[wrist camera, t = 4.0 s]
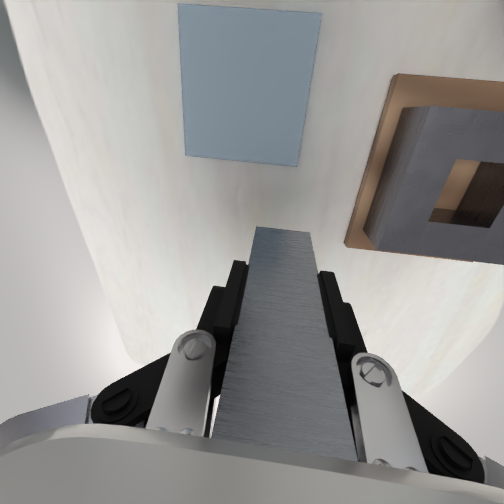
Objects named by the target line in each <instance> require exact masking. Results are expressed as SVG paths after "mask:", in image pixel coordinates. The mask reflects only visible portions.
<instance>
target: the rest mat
mask: <svg viewBox="0 0 504 504" xmlns="http://www.w3.org/2000/svg"><path fill="white" fill-rule="evenodd" d="M321 16H322V13H312V12H297V11H282V10H267V9H253V8H238V7H223V6H208V5H193V4H178V20H179V39H180V59H181V78H182V98H183V118H184V137H185V155H186V156H196V157H206V158H215V159H225V160H235V161H245V162H255V163H265V164H275V165H285V166H295V167H297V165H298V159H299V152H300V146H301V140H302V134H303V128H304V121H305V115H306V109H307V103H308V97H309V91H310V84H311V78H312V72H313V66H314V60H315V53H316V47H317V41H318V35H319V29H320V22H321Z"/></svg>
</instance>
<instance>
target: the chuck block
mask: <svg viewBox="0 0 504 504" xmlns="http://www.w3.org/2000/svg"><path fill="white" fill-rule="evenodd" d="M456 159H461V160H472V161H481V162H480V164H479V166H478V168H477V170H476V172H475V174H474V176H473V178H472V180H471V182H470V184H469V186H468V188H467V190H466V192H465V193H464V195H463V197H462V199H461V201H460V203H459V205H458V207H457V209H456V210H450V209H441V208H434V207H435V205H436V203H437V200H438V198H439V196H440V194H441V192H442V190H443V187H444V185H445V183H446V181H447V179H448V177H449V174H450V172H451V170H452V168H453V166H454V163H455V161H456ZM363 231H364V232H365V234H366V235H367V237H368V238H369V239H370V241H371V242H372V244H373V245H374V246H375V248H376V249H377V250H381V251H390V252H398V253H407V254H416V255H424V256H433V257H441V258H450V259H458V260H467V261H476V262H484V263H493V264H501V265H504V112H500V111H488V110H476V109H464V108H453V107H441V106H419V107H404V108H402V111H401V114H400V117H399V120H398V124H397V127H396V130H395V133H394V136H393V139H392V142H391V145H390V148H389V151H388V154H387V157H386V160H385V163H384V166H383V169H382V173H381V176H380V179H379V182H378V185H377V188H376V191H375V194H374V197H373V200H372V203H371V206H370V209H369V212H368V215H367V218H366V222H365V225H364V228H363Z"/></svg>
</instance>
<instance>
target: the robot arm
mask: <svg viewBox="0 0 504 504" xmlns="http://www.w3.org/2000/svg"><path fill="white" fill-rule="evenodd" d="M249 267H250V265H246V261H238V260H234V262H233V265H232V268H231V271H230V275H229V278H228V281H227V284H226V287H220V286H213V288H212V290H211V292H210V295H209V298H208V300H207V303H206V305H205V308H204V311H203V313H202V316H201V318H200V321H199V324H198V326H197V329H196V330H191V331H188V332H185V333H184V334H182V335H180V336H179V337H178V338H177V339H176V341H175V343H174V345H173V348H172V351H171V353H169V354H167V355H165V356H163V357H161V358H160V359H158V360H156V361H154V362H152V363H150V364H148V365H146V366H144V367H143V368H141V369H139V370H137V371H135V372H133V373H131V374H129V375H127V376H125V377H124V378H121V379H120V380H118V381H116V382H114V383H112V384H110V385H109V386H108V387H106V388H104V389H103V390H102V391H101V392H100V394H99V395H96V396H93V397H90V395H89V394H88V395H85V396H81V397H78V398H75V399H71V400H68V401H64V402H61V403H57V404H54V405H51V406H47V407H44V408H40V409H37V410H34V411H30V412H26V413H23V414H20V415H17V416H15V417H13V418H10V419H8V420H6V421H5V422H3V423H2V424H1V425H0V504H504V466H502V465H500V464H499V463H497V462H495V461H493V460H491V459H490V458H488V457H486V456H483V457H482V458H480V457H478V455H477V454H476V452H475V451H474V450H473V449H472V447H471V446H470V445H469V444H468V443H467V442H466V441H465V440H464V439H463V438H462V437H461V436H459V435H458V434H457V433H456V432H454V431H453V430H452V429H450V428H449V427H448V426H447V425H445V424H444V423H443V422H441V421H440V420H439V419H438V418H436V417H435V416H434V415H433V414H431V413H430V412H428V410H426V409H425V408H424V407H422V406H421V405H420V404H419V403H417V402H416V401H415V400H414V399H412V398H411V397H410V396H409V395H407V394H406V393H405V392H403V391H402V390H401V387H400V384H399V381H398V378H397V375H396V373H395V371H394V370H393V368H392V367H391V366H390V365H389V364H388V363H387V362H386V361H385V360H384V359H382V358H380V357H379V356H377V355H374V354H371V353H367V350H366V347H365V344H364V341H363V338H362V335H361V332H360V330H359V327H358V324H357V321H356V318H355V315H354V312H353V309H352V307H351V305H350V304H349V303H345V302H343V300H342V297H341V294H340V290H339V287H338V284H337V281H336V278H335V274H334V272H328V271H320V273H319V274H317V278H318V283H319V288H320V293H321V298H322V303H323V308H324V313H325V318H326V323H327V328H328V333H329V338H332V341H333V346H334V351H335V355H336V360H337V365H338V370H339V374H340V379H341V384H342V388H343V393H344V398H345V403H346V407H347V412H348V417H349V421H350V426H351V431H352V436H353V440H354V445H355V450H356V454H357V459H358V462H357V461H351V460H345V459H339V458H332V457H326V456H320V455H314V454H308V453H301V452H295V451H289V450H283V449H276V448H270V447H264V446H258V445H251V444H245V443H239V442H232V441H226V440H219V439H213V438H211V431H212V422H213V415H214V408H215V400H216V397H217V396H219V395H220V394H221V390H222V385H223V380H224V376H225V371H226V366H227V362H228V357H229V352H230V348H231V343H232V338H233V334H234V329H235V325H238V321H239V316H240V311H241V306H242V301H243V296H244V292H245V287H246V282H247V277H248V272H249Z"/></svg>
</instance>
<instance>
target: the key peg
mask: <svg viewBox="0 0 504 504" xmlns="http://www.w3.org/2000/svg"><path fill="white" fill-rule="evenodd" d="M248 265H250V267H249V272H248V277H247V282H246V287H245V292H244V296H243V301H242V306H241V311H240V316H239V321H238V325H235V329H234V334H233V338H232V343H231V348H230V352H229V357H228V362H227V366H226V371H225V376H224V380H223V385H222V390H221V394H220V399H219V404H218V408H217V413H216V418H215V422H214V427H213V432H212V436H211V438H213V439H219V440H226V441H232V442H239V443H245V444H251V445H258V446H264V447H270V448H276V449H283V450H289V451H295V452H301V453H308V454H314V455H320V456H326V457H332V458H339V459H345V460H351V461H357V462H358V459H357V454H356V450H355V445H354V440H353V436H352V431H351V426H350V421H349V417H348V412H347V407H346V403H345V398H344V393H343V388H342V384H341V379H340V374H339V370H338V365H337V360H336V355H335V351H334V346H333V341H332V338H329V333H328V328H327V323H326V318H325V313H324V308H323V303H322V298H321V293H320V288H319V283H318V278H317V274H318V270H317V266H316V261H315V256H314V252H313V247H312V242H311V237H310V233H309V232H300V231H291V230H282V229H274V228H265V227H256V231H255V236H254V240H253V245H252V250H251V254H250V259H249V264H248Z"/></svg>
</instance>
